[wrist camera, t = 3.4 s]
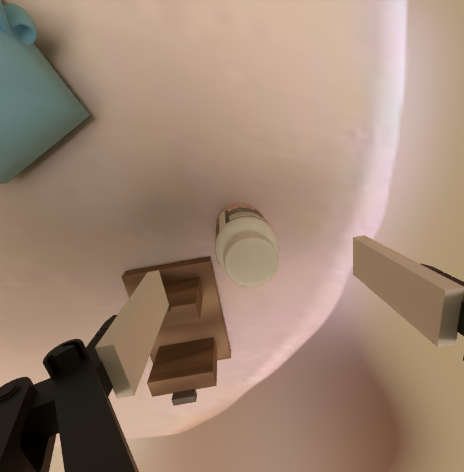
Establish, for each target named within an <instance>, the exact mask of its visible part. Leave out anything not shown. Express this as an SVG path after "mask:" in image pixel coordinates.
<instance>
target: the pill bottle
mask: <svg viewBox="0 0 464 472" xmlns="http://www.w3.org/2000/svg"><path fill="white" fill-rule="evenodd" d="M215 253H216V257H217V260H218V262H219V264H220V265H221V266H222V268H223V269H224V270H225V271H226V273H227V275H228V276H229V278H230V279H231V280H232V281H233V282H235V283H236V284H238V285H241V286H244V287H256V286H260V285H262V284H264V283H266V282H268V281H269V280H270V279H271V278H272V277H273V276H274V274H275V273H276V270H277V268H278V261H279V260H278V254H277V253H278V239H277V236H276V234H275V232H274V230H273V229H272V227H271V226H270V225H269V224H268V223H267V221H266V220H265V219H264V218H263V216H262V215H261V214H260V213H259V211H258V210H256V209H255V208H254V207H252V206H250V205H247V204H235V205H232V206H229V207H228V208H226V209H225V210H224V211H223V212H222V213H221V214H220V216H219V218H218V220H217V225H216V242H215Z"/></svg>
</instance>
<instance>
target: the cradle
mask: <svg viewBox="0 0 464 472" xmlns="http://www.w3.org/2000/svg"><path fill="white" fill-rule="evenodd" d="M157 270H159V273H160V276H161V279H162V283H163V286H164V290H165V293H166V296H167V300H168V303H169V306H168V309H167V312H166V314H165V317H164V319H163V322H162V324H161V327H160V330H159V332H158V335H157V337H156V340H155V343H154V345H153V348H152V350H151V353H150V357H151V360H152V362H153V367H152V370H151V373H150V376H149V379H148V382H147V384H148V387H149V389H150V392H151V394H152V397H153V396H159V395H165V394H171V393H173V396H172V402H173V405H180V404H186V403H191V402H196V398H197V393H196V390H195V389H200V388H206V387H212V386H216V382H217V360H222V359H228V358H231V350H230V346H229V341H228V337H227V332H226V327H225V323H224V318H223V313H222V309H221V304H220V299H219V295H218V290H217V285H216V281H215V276H214V271H213V267H212V262H211V258H210V257H207V258H202V259H196V260H190V261H185V262H179V263H173V264H167V265H162V266H156V267H150V268H144V269H139V270H133V271H127V272H125V273H124V275H123V276H122V279H123V281H124V284H125V287H126V290H127V293H128V295H129V298H130V297H131V295H132V294H133V292H134V291H135V290H136V288H137V287H138V285H139V284H140V282H141V281H142V280H143V278H144V277H145V275H146V274H147V272H152V271H157Z"/></svg>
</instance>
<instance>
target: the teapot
mask: <svg viewBox="0 0 464 472" xmlns="http://www.w3.org/2000/svg"><path fill="white" fill-rule="evenodd" d="M37 36H38V32H37V28H36V25H35V23H34V21H33V20H32V18H31V16H30V15H29V14H28V13H27V12H26V11H25V10H24V9H23V8H21V7H20V6H18V5H15V4H7V5H5V6H4V4H3V3H2V2H1V0H0V183H8V182H9V181H10V180H12V179H13V178H14V177H15V176H16V175H18V174H19V173H20V172H21V171H23V170H24V169H25V168H26V167H27V166H29V165H30V164H31V163H32V162H34V161H35V160H36V159H37V158H39V157H40V156H41V155H42V154H43V153H45V152H46V151H47V150H48V149H50V148H51V147H52V146H53V145H55V144H56V143H57V142H58V141H59V140H61V139H62V138H63V137H64V136H66V135H67V134H68V133H69V132H71V131H72V130H73V129H74V128H75V127H77V126H78V125H79V124H80V123H82V122H83V121H84V120H85V119H87V118H88V117H89V116H90V115H89V114H88V112H87V111H86V110H85V108H84V107H83V106H82V104H81V103H80V102H79V101H78V99H77V98H76V97H75V95H74V94H73V93H72V92H71V90H70V89H69V88H68V86H67V85H66V84H65V83H64V81H63V80H62V79H61V77H60V76H59V75H58V74H57V72H56V71H55V70H54V68H53V67H52V66H51V65H50V63H49V62H48V61H47V59H46V58H45V57H44V56H43V54H42V53H41V52H40V50H39V49H38V48H37V47H36V45H35V44H34V42H35V40H36V39H37Z"/></svg>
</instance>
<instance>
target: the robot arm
mask: <svg viewBox="0 0 464 472" xmlns="http://www.w3.org/2000/svg"><path fill="white" fill-rule="evenodd" d="M353 275H355V276H356V277H357V278H358V279H359V280H361V281H362V282H363V283H364V284H365V285H366V286H367V287H369V288H370V289H371V290H372V291H373V292H374V293H375V294H377V295H378V296H379V297H380V298H381V299H382V300H384V301H385V302H386V303H387V304H388V305H390V306H391V307H392V308H393V309H394V310H395V311H396V312H398V313H399V314H400V315H401V316H402V317H403V318H405V319H406V320H407V321H408V322H409V323H410V324H411V325H413V326H414V327H415V328H416V329H417V330H418V331H420V332H421V333H422V334H423V335H424V336H425V337H427V338H428V339H429V340H430V341H431V342H432V343H433V344H435V345H436V346H437V347H440V346H446V345H453V344H456V339H457V333H458V332H459V333H460V334H462V335H463V336H464V282H462V281H460V280H458V279H456V278H454V277H452V276H450V275H448V274H446V273H443V272H442V271H440V270H438V269H436V268H434V267H431V266H428V265H424V264H419V263H417V262H415V261H413V260H411V259H409V258H407V257H405V256H403V255H401V254H400V253H398V252H396V251H394V250H392V249H390V248H388V247H386V246H384V245H382V244H380V243H378V242H376V241H374V240H372V239H370V238H368V237H367V236H359V237H353ZM168 306H169V303H168V300H167V296H166V293H165V290H164V286H163V283H162V279H161V276H160V273H159V270H157V271H152V272H147V274H146V275H145V277H144V278H143V280H142V281H141V282H140V284H139V285H138V287H137V288H136V290H135V291H134V292H133V294H132V295H131V297H130V298H129V300H128V301H127V302H126V304H125V305H124V307H123V308H122V310H121V311H120V312H119V314H118V315H113V316H112V317H111V318H109V319H108V320H107V321H106V322H105V323H104V324H103V325H102V327H101V328H100V331H98V332H97V333H96V335H95V337H94V338H93V339H92V340H91V342H90V343H89V344H88V346H87V347H86V348H85V346H84V344H83V341H81V340H80V339H73V340H69V341H67V342H64V343H62V344H60V345H59V346H57V347H55V348H54V349H53V350H51V351H50V352H49V353H48V354H47V355H46V357H45V358H44V360H43V364H44V366H45V368H46V370H47V371H48V373H49V375H50V377H51V378H49V379H47V380H44V381H42V382H39V383H37V384H34V385H33V383H32V381H31V379H30V378H28V377H21V378H18V379H15V380H13V381H11V382H9V383H7V384H5V385H3V386H2V387H0V472H49V468H50V463H51V458H52V453H53V448H54V443H55V438H56V434H57V433H59V434H60V441H61V447H62V455H63V462H64V470H65V472H139V471H138V468H137V466H136V463H135V461H134V459H133V456H132V454H131V451H130V449H129V447H128V444H127V442H126V439H125V437H124V434H123V432H122V429H121V427H120V425H119V422H118V420H117V417H116V415H115V412H114V410H113V408H112V405H111V403H110V400H109V398H108V396H109V394H110V392H111V390H112V388H113V390H114V392H115V395H116V397H117V398H119V397H126V396H132V395H134V394H135V392H136V389H137V387H138V384H139V381H140V379H141V376H142V374H143V371H144V368H145V366H146V363H147V361H148V358H149V356H150V353H151V350H152V348H153V345H154V343H155V340H156V337H157V335H158V332H159V330H160V327H161V324H162V322H163V319H164V317H165V314H166V312H167V309H168ZM463 360H464V357H463Z"/></svg>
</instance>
